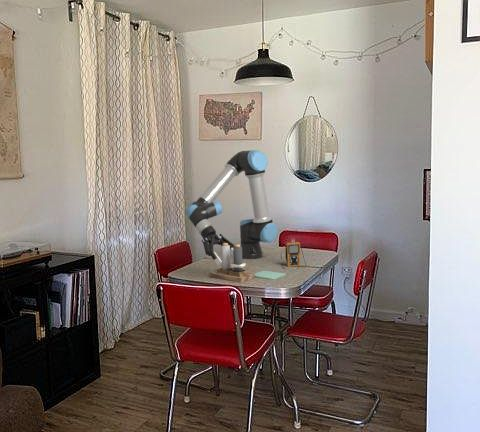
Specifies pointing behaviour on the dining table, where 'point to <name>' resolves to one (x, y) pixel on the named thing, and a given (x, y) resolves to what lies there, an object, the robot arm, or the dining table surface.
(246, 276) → the clamp board
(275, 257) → the dining table surface
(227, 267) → the white tall cylinder
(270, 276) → the green pad
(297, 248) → the multimeter
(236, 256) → the grey flanged cylinder
